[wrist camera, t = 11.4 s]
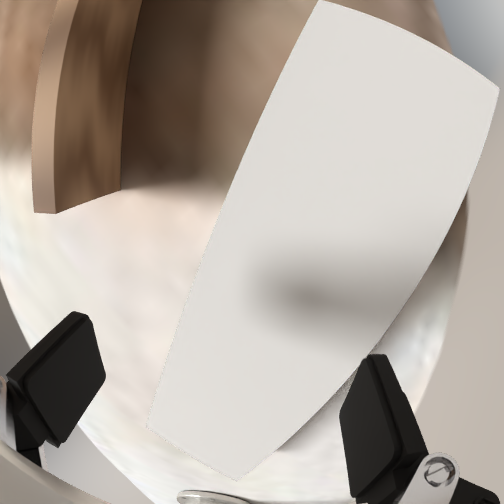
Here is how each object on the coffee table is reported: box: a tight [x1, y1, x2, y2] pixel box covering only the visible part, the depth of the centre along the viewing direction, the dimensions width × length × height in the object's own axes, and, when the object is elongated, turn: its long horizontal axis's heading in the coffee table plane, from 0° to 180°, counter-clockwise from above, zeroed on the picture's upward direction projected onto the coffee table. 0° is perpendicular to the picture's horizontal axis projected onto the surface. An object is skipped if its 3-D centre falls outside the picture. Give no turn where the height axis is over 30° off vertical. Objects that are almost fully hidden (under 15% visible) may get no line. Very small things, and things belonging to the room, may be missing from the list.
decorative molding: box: [145, 0, 499, 481], centre depth 17 cm, size 34×5×10 cm
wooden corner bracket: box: [32, 0, 142, 214], centre depth 10 cm, size 17×9×6 cm, turn 175°
